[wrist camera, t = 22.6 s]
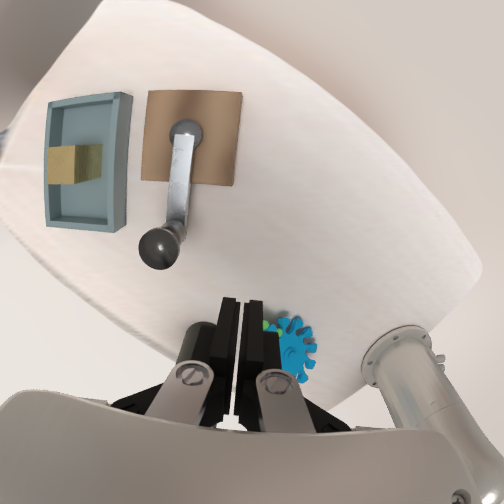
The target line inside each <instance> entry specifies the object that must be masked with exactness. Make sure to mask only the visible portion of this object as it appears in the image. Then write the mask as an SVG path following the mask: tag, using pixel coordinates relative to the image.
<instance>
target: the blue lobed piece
mask: <svg viewBox="0 0 504 504" xmlns="http://www.w3.org/2000/svg"><path fill="white" fill-rule="evenodd" d="M278 324H279V329H277V327H276V325H272V324H271V325H269V323H268V321H263V331H274V332H278V334H279V343H280V354H281V364H282V370H284V371H287V372H289V373H291V374H292V375H293V376H294V377H295V378H296V375H297V373H298V376H297V381H298V382H299V383H304V382H306V381H307V380H308V376H307V375H306V374H305V372H304V367H303V364H304V362H305V367H306V368H307V369H313V368H314V366H315V363H316V362H315V361H314V360H310V359H309V358H308V357H307V355H306V350H307V351H308V352H311V353H315V352H316V349H317V344H315V343H309V344H307V345H306V344H304V343H303V338H304V337H305V338H311V337H312V336H313V333H312V330H311V328H305V329H303V331H302V332H301V333H300V334H299V335H296V330H297V329H298V328H301V327H302V326H303V324H304V323H303V322H302V320H300V319H299V318H294V319H293V321H292V325H291V328H290V330H289V331H288V332H287V333H286V328H287V327H288V326H289V324H290V319H289V318H279V319H278Z"/></svg>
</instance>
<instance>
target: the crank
mask: <svg viewBox="0 0 504 504" xmlns="http://www.w3.org/2000/svg"><path fill="white" fill-rule="evenodd" d="M202 138H203V132H202V129H201V127H200V125H199V124H198V123H196V122H194V121H192V120H189V119H183V120H180V121H178V122H176V123H175V124H174V125H173V126H172V128H171V130H170V133H169V139H170V142H171V144H172V145H173V154H172V162H171V171H170V181H169V192H168V203H167V217H166V223H165V224H164V225H163V226H162V227H161V228H153V229H151V230H149V231H148V232H147V233H145V234H144V235H143V236H142V238H141V240H140V242H139V254H140V256H141V258H142V260H143V261H144V263H145V264H147V265H148V266H149V267H151V268H153V269H157V270H163V269H167V268H169V267H171V266H172V265H173V264H174V262H175V261H176V259H177V258H178V256H179V252H180V244H181V243H182V242H184V240H185V239H186V234H187V231H186V228H187V217H188V206H189V196H190V187H191V178H192V170H193V162H194V154H195V148H196V147H197V146H198V145H199V144H200V143H201V141H202Z"/></svg>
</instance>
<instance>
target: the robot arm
mask: <svg viewBox="0 0 504 504" xmlns="http://www.w3.org/2000/svg"><path fill="white" fill-rule="evenodd" d="M239 313H240V302H236V298H228V297H223V300H222V304H221V309H220V313H219V317H218V322H217V326H214V325H206V324H202V325H201V327H200V330H199V334H198V337H197V340H196V343H195V347H194V350H193V353H192V356H191V360H190V361H184V362H180V363H179V364H177V365H176V366H175V367H174V368H173V369H172V371H171V372H170V374H169V375H168V377H167V379H166V380H165V382H164V383H162V384H159V385H157V386H154V387H151V388H149V389H146V390H144V391H141V392H138V393H136V394H133V395H131V396H128V397H125V398H122V399H119V400H117V401H116V402H114V403H113V404H108V402H107V401H105V400H96V399H88V398H80V397H75V396H72V395H68V394H64V393H60V392H54V391H48V390H23V391H20V392H17V393H15V394H14V395H12V396H11V397H9V398H8V399H7V400H6V401H5V402H4V403H3V404H2V405H1V406H0V504H500V503H501V502H502V501H503V500H504V458H503V456H502V455H501V454H500V453H499V452H498V450H497V449H496V448H495V447H494V446H493V445H492V444H491V442H490V441H489V440H488V438H487V437H486V436H485V434H484V433H483V432H482V430H481V429H480V427H479V426H478V424H477V423H476V421H475V420H474V418H473V417H472V415H471V414H470V412H469V410H468V409H467V407H466V406H465V404H464V403H463V401H462V399H461V398H460V397H459V395H458V393H457V392H456V390H455V389H454V387H453V386H452V384H451V383H450V381H449V380H448V378H447V377H446V375H445V374H444V370H445V367H444V365H443V364H437V363H442V362H444V361H445V355H437V356H435V354H434V353H433V352H432V350H431V347H432V343H431V338H430V336H429V335H428V333H427V332H426V331H425V330H424V329H422V328H420V327H417V326H406V327H401V328H398V329H396V330H393V331H392V332H390V333H388V334H386V335H385V336H383V337H382V338H381V339H379V340H378V341H377V342H376V343H375V344H374V345H373V346H372V347H371V348H370V350H369V351H368V353H367V354H366V356H365V358H364V360H363V364H362V374H363V377H364V379H365V381H366V382H367V383H368V384H369V385H370V386H372V387H375V388H379V389H380V391H381V394H382V396H383V398H384V401H385V403H386V405H387V408H388V410H389V412H390V415H391V417H392V419H393V422H394V424H395V427H396V428H388V429H384V428H371V427H360V426H356V427H355V429H350V427H349V426H348V425H347V424H345V423H344V422H342V421H341V420H339V419H338V418H336V417H334V416H333V415H331V414H329V413H328V412H326V411H325V410H323V409H321V408H320V407H318V406H317V405H315V404H314V403H312V402H311V401H309V400H308V399H306V398H305V397H303V395H302V392H301V389H300V386H299V384H298V381H297V380H296V378H295V377H294V376H293V375H292V374H291V373H289V372H287V371H284V370H282V364H281V354H280V343H279V334H278V332H274V331H263V302H262V301H257V300H250V302H249V303H244V313H243V322H242V332H241V341H240V351H239V361H238V372H237V383H236V394H235V405H234V415H237V416H239V423H240V424H242V425H243V426H244V427H245V428H246V429H247V431H238V430H228V429H219V428H213V425H215V424H217V423H219V422H223V415H224V414H226V415H229V409H230V400H231V391H232V382H233V373H234V364H235V354H236V344H237V333H238V323H239Z"/></svg>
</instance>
